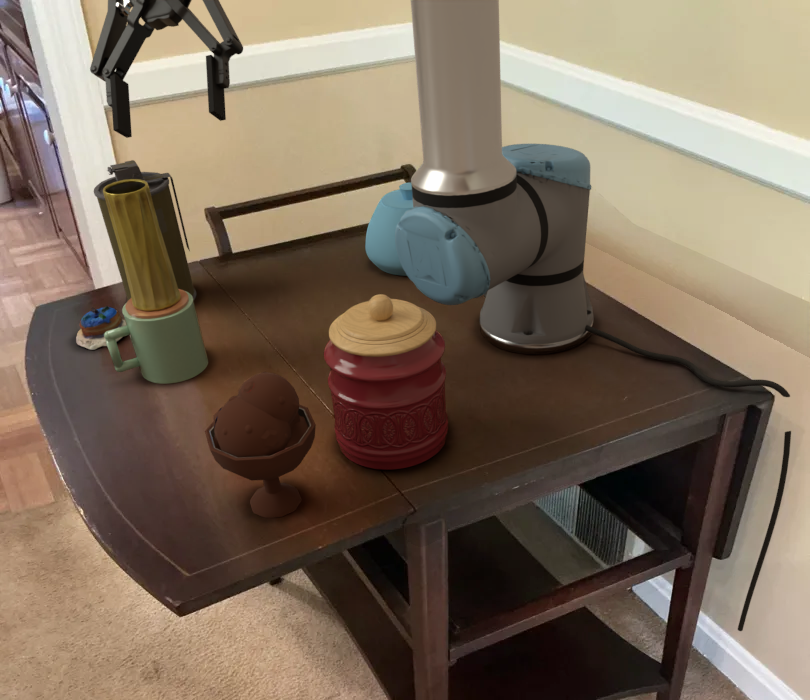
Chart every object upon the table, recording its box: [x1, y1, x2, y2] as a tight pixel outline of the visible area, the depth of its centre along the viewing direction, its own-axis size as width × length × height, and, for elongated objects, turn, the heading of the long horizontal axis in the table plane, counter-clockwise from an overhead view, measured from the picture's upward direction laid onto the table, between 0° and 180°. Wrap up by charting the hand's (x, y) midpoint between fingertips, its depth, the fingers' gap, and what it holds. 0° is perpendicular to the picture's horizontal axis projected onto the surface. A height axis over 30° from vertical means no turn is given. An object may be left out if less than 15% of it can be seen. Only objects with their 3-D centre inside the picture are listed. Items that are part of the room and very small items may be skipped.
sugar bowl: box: [364, 181, 413, 277], centre depth 131 cm, size 15×15×12 cm
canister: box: [93, 159, 197, 301], centre depth 123 cm, size 11×10×20 cm
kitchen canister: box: [323, 293, 449, 471], centre depth 92 cm, size 13×13×18 cm
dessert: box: [75, 305, 126, 351], centre depth 121 cm, size 8×7×6 cm
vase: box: [103, 179, 181, 311], centre depth 103 cm, size 6×6×14 cm
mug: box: [104, 289, 209, 385], centre depth 110 cm, size 9×12×9 cm
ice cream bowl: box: [204, 371, 317, 519], centre depth 85 cm, size 11×11×15 cm
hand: (169, 125), depth 105 cm, fingers open, 13 cm apart
